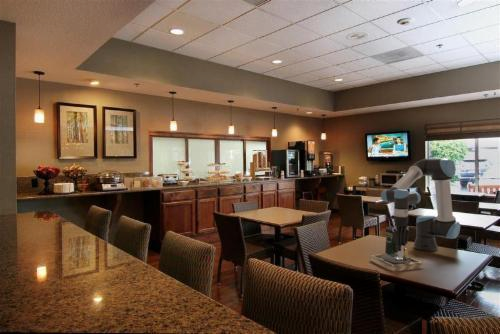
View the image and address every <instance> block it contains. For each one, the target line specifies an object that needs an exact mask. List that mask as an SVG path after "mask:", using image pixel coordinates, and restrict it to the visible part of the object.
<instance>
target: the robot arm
mask: <svg viewBox="0 0 500 334" xmlns="http://www.w3.org/2000/svg"><path fill="white" fill-rule="evenodd" d="M456 171H457V169H456V165H455V162H454V161H453V159H450V158H443V157H442V158H437V157H435V158H423V159H420V160H419V161H416V162H415V163H413V164H412V165H411V166H409V168H408V170H407V172H406V173H404V175H403V176H402V177H401V178H400V179H398V181H396V182H395V183H394V184H393V185H392V186H391V187H390V188H389V189H384V190H382V191H381V193H380V197H381V200H382V202H387V203H393V204H394V205H393V206H394V208H393V209H394V210H393V215H394V216H393V221H394V226H393V227H394V228H391V231H392V233H393V238H394V244H396V245H397V250H398V256H400V257H403V256H404V248H405V246H407V245H408V241H409V237H410V231H411V230H412V228H411V227H409V225H408V224H409V206H412V205H417V204H419V203H420V202H421V200H422V199H421V198H422V197H421V194H420V193H418V192H417V191H409V190H408V189H409V188H410V187H411V186H413V184H414V183H415V182H416V181H417V180H418V179H421V178H422V177H426V176H428V177H431V180H432V181H433V182H434V190H435V200H436V211H437V216H436V215H420V216H417V217H416V221H415V224H416V227H415V230H416V231H415V232H416V234H415V236H416V237H415V240H414V243H413V248H414V249H416V250H419V251H423V252H437V251H438V250H439V249H438V248H439V246H438V244H437V239H436V237H441V238H445V239H452V240H453V239H456V238H457V237H458V236H459V234H460V231H461V223H460V222H459V221H457V219H456V217H455V216H454V214H453V203H452V193H451V192H452V191H451V183H450V181H451V180H452V179H453V177H454V176H455V175H456Z"/></svg>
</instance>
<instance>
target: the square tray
mask: <svg viewBox="0 0 500 334" xmlns="http://www.w3.org/2000/svg"><path fill="white" fill-rule="evenodd" d="M382 254H383V253H382ZM382 254H381V253H379V254H371V256H370V258H371V259H370V261H371V262H373V263H375V264H377V265H379V266H381V267H383V268H385V269H387V270H389V271H391V272H401V271H402V270H403V271H410V269H411V270H420V269H423V261H420V260H418V259H415V258H413V257H410V258H411V263H405V264H391V263H389V262H386V261H384V260H383V259H382ZM396 254H398V253H396Z"/></svg>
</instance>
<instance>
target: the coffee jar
mask: <svg viewBox="0 0 500 334" xmlns="http://www.w3.org/2000/svg"><path fill="white" fill-rule="evenodd" d="M391 228H394V226H386V227H385V236H386V237H385V251H384V252H385V253H384V254H386V253H398V250H397V245H396V244H394V238H393V233H392V231H391Z"/></svg>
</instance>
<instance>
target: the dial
mask: <svg viewBox="0 0 500 334" xmlns="http://www.w3.org/2000/svg"><path fill="white" fill-rule="evenodd" d="M411 258H412V257H410V256H409V255H408V247H404V256H403V257H400V256H398V254H396V253H382V259H383V260H384V261H386V262H389V263H391V264H405V263H411Z"/></svg>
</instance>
